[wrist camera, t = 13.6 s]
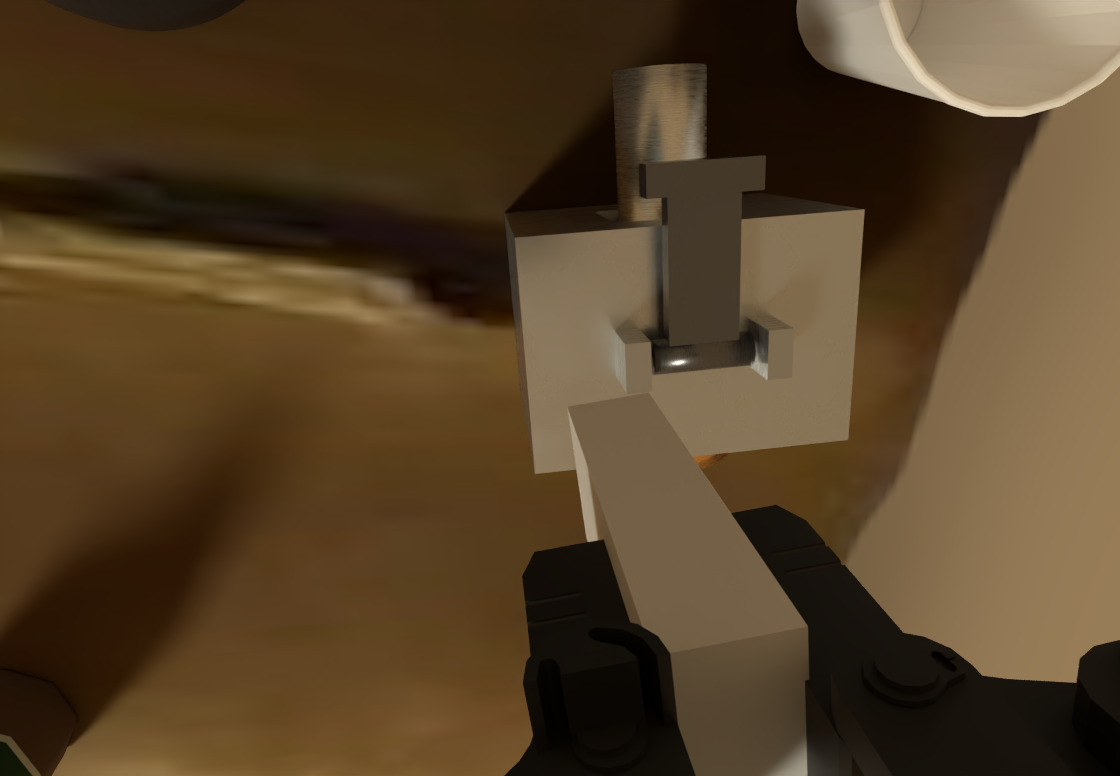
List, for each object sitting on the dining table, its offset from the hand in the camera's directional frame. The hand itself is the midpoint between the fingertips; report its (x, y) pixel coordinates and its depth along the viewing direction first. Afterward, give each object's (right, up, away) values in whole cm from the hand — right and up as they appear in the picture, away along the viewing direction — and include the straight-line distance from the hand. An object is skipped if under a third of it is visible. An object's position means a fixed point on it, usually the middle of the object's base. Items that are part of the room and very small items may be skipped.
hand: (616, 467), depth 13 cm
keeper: (+4, +6, +15) cm, 17 cm away
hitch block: (+3, +7, +27) cm, 28 cm away
